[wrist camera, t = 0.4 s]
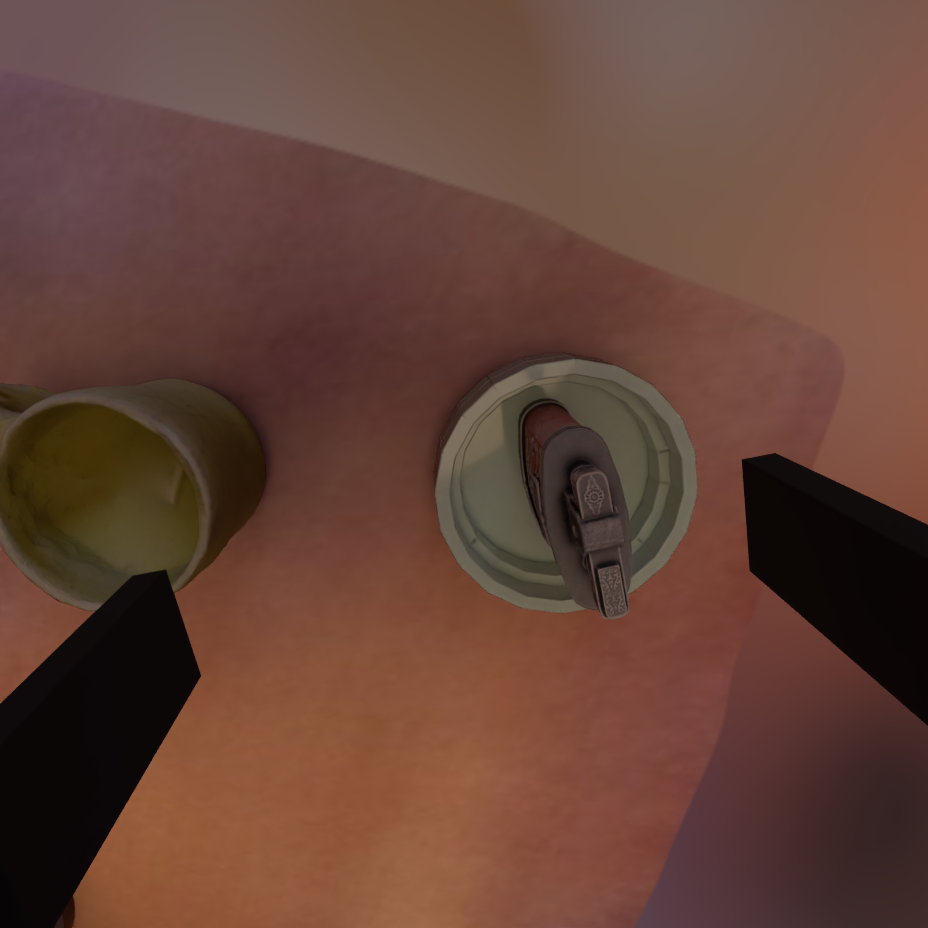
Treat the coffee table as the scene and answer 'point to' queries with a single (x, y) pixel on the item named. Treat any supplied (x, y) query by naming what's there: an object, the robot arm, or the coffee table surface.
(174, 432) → the mug
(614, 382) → the bowl
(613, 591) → the lighter
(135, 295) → the coffee table surface
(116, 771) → the robot arm
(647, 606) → the coffee table surface
